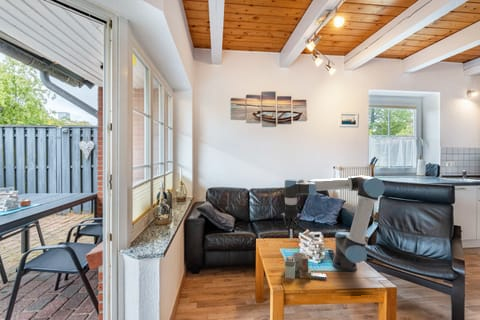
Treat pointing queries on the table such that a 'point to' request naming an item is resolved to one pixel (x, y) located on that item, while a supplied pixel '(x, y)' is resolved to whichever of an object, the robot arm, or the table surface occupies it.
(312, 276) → the rail
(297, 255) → the mug
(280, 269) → the table surface
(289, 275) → the cabinet
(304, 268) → the carriage
